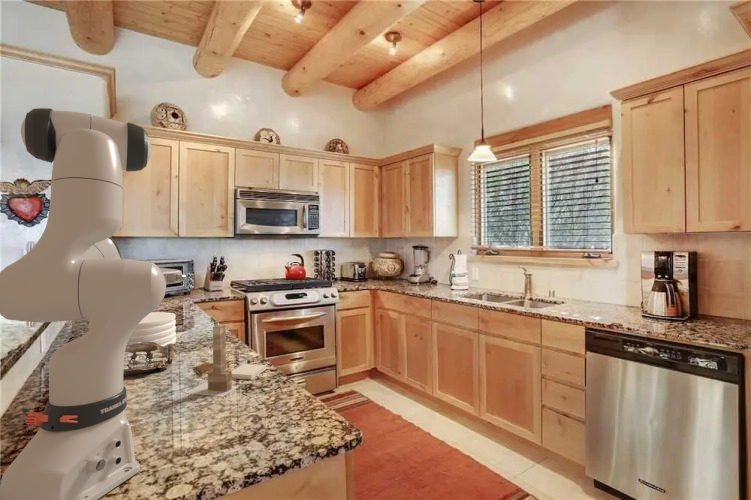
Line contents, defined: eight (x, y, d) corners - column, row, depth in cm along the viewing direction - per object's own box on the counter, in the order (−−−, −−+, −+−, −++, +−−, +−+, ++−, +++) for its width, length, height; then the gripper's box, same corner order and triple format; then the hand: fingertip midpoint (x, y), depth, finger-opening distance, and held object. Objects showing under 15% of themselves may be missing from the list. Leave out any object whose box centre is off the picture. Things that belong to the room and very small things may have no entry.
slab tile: (251, 375, 121) (266, 365, 131) (227, 373, 122) (243, 363, 132) (251, 382, 121) (266, 371, 131) (227, 380, 122) (243, 370, 132)
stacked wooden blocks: (226, 391, 111) (226, 327, 111) (207, 389, 112) (207, 326, 112) (231, 388, 113) (231, 325, 113) (213, 387, 115) (212, 324, 114)
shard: (201, 379, 123) (201, 373, 123) (179, 378, 125) (179, 372, 125) (221, 368, 134) (221, 363, 134) (201, 367, 136) (201, 362, 136)
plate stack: (110, 340, 173) (110, 314, 173) (181, 335, 182) (180, 310, 182) (85, 357, 147) (84, 326, 147) (169, 351, 155) (168, 322, 155)
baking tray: (179, 374, 129) (179, 357, 129) (98, 386, 118) (98, 368, 118) (171, 352, 155) (171, 338, 155) (104, 360, 143) (104, 345, 143)
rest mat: (222, 398, 107) (222, 396, 107) (184, 394, 110) (184, 392, 110) (239, 387, 115) (239, 386, 115) (203, 384, 118) (203, 382, 118)
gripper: (96, 270, 102) (141, 270, 99) (157, 265, 122) (196, 265, 118) (96, 294, 102) (141, 296, 99) (158, 286, 122) (197, 287, 119)
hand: (172, 279), depth 109 cm, fingers open, 8 cm apart
